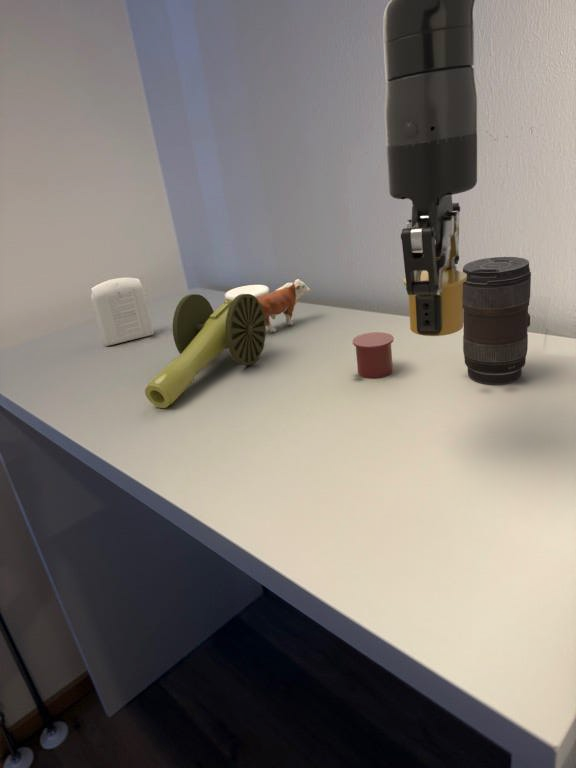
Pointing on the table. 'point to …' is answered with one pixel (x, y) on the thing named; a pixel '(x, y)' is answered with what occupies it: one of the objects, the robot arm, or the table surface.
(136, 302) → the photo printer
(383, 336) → the burgundy pod
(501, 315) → the camera lens
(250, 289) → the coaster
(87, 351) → the table surface
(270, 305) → the bull figurine
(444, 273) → the gold pod
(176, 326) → the cannon
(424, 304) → the robot arm
